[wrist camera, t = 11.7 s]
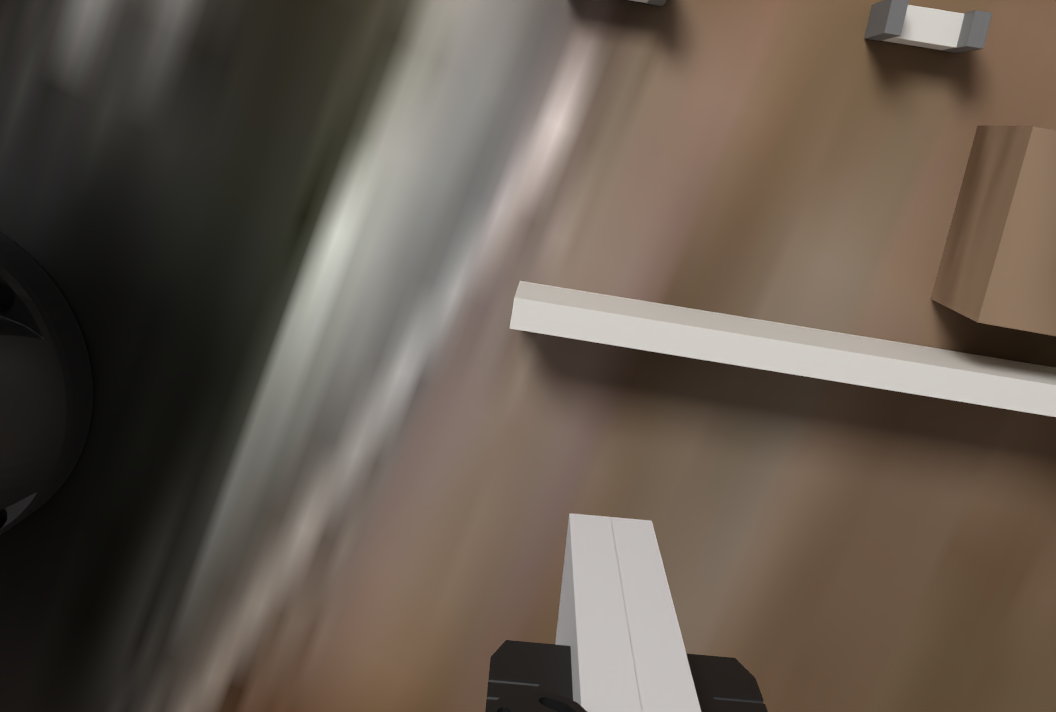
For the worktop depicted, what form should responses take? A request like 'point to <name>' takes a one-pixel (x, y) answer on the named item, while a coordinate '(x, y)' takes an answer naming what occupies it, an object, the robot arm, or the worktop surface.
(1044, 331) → the block
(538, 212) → the worktop surface
